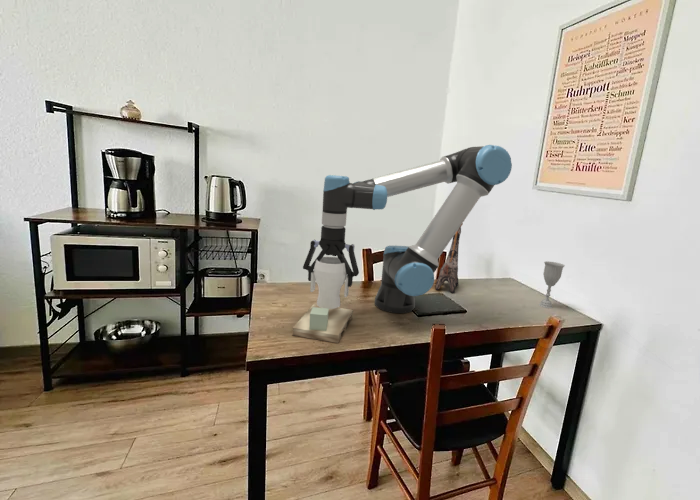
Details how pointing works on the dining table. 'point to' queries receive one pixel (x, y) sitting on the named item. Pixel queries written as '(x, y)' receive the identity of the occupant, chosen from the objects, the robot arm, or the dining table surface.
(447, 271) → the toy
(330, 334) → the dock
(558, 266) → the chalice
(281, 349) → the dining table surface
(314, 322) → the pale green cube
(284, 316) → the dining table surface
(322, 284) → the cup
